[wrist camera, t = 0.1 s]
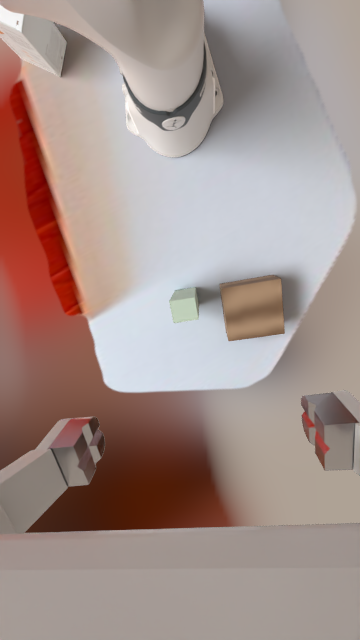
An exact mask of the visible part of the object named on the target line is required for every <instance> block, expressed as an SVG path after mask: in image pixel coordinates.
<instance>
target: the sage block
mask: <svg viewBox="0 0 360 640" xmlns="http://www.w3.org/2000/svg"><path fill="white" fill-rule="evenodd" d="M169 303H170V308H171V312H172V317H173V322H174V323H178V322H184V321H191V320H197V319H199V303H198V297H197V291H196V287H193V288H187V289H181V290H176V291H175V292H174V293H173V295H172V297H171V299H170V301H169Z"/></svg>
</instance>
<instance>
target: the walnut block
mask: <svg viewBox="0 0 360 640" xmlns="http://www.w3.org/2000/svg"><path fill="white" fill-rule="evenodd" d="M219 285H220V293H221V300H222V307H223V314H224V321H225V328H226V333H227V337H228V340H229V341H234V340H242V339H249V338H256V337H263V336H270V335H277V334H285V332H284V316H283V301H282V286H281V278H279V277H276V276H274V275H268V276H263V277H257V278H251V279H245V280H240V281H234V282H228V283H222V284H219Z"/></svg>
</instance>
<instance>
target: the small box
mask: <svg viewBox="0 0 360 640" xmlns="http://www.w3.org/2000/svg"><path fill="white" fill-rule="evenodd" d="M0 38H1V39H2V40H3V41H4V42H5V43H6V44H7V45H8V46H9V47H10V48H11V49H12V50H13V51H14V52H15V53H17V55H18V56H19V57H20V58H21V59H22V60H24V61H27V62H29V63H31V64H33V65H35V66H37V67H40V68H42V69H44V70H46V71H48V72H50V73H53V74H55V75H57V76H59V77H60V76H61V71H62V66H63V60H64V55H65V50H66V45H67V42H66V40H65V39H64V37H63V36H62V34H61V33H60V31H59V30H58V29H57V27H56V26H55V24H54V23H53V22H52V21H49V20H46V19H43V18H39V17H34V16H30V15H25V14H19V13H13V12H10V11H8V10H7V9H5V8H4V7H3V6H1V5H0Z"/></svg>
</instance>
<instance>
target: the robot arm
mask: <svg viewBox="0 0 360 640" xmlns="http://www.w3.org/2000/svg"><path fill="white" fill-rule="evenodd" d="M0 5H1V6H3V7H4V8H5V9H7V10H8V11H10V12H13V13H19V14H25V15H30V16H34V17H39V18H43V19H46V20H49V21H52V22H55V23H58V24H60V25H62V26H65V27H67V28H69V29H71V30H73V31H75V32H77V33H79V34H81V35H83V36H84V37H86V38H88V39H89V40H91V41H93V42H94V43H96V44H97V45H99V46H100V47H102V48H103V49H104V50H106V51H107V52H108V53H109V54H110V55H111V56H113V58H114V59H115V61H116V62H117V64H118V66H119V70H120V73H121V74H122V75H123V79H124V84H122V89H123V93H124V95H125V107H126V124H127V128H128V130H129V131H130V132H131V133H132V134H134V135H136V136H138V137H140V138H142V139H143V140H144V141H145V142H146V143H147V144H148V145H149V147H150V148H151V149H153V150H154V151H155V152H157V153H158V154H160V155H163V156H166V157H180V156H184V155H186V154H188V153H190V152H192V151H193V150H194V149H196V148H197V147H198V146H199V145H200V143H201V142H202V141H203V139H204V138H205V136H206V134H207V132H208V129H209V126H210V124H211V121H212V120H213V118H214V117H215V116H216V115H217V113H218V112H219V111H220V110H221V108H222V106H223V95H222V92H221V88H220V85H219V81H218V78H217V74H216V71H215V67H214V64H213V60H212V57H211V53H210V50H209V46H208V43H207V39H206V36H205V32H204V2H203V0H0ZM215 93H216V94H217V95H216V96H215ZM301 405H302V407H303V409H304V411H305V412H304V413H303V414H302V423H303V428H304V432H305V434H306V437H307V439H308V441H309V442H310V443H311V444H313V445H315V454H316V455H317V457H318V459H319V461H320V463H321V464H322V466H323V468H324V470H326V471H328V470H353V471H354V472H356V473H357V474H358V475H359V476H360V402H358V400H357V399H356V398H355V397H354V396H353V395H352V394H351V393H350V392H348V391H346V390H344V391H337V392H331V393H323V394H314V395H304V396H302V398H301ZM99 425H100V424H99V421H98V419H97V418H96V417H83V418H72V419H62V420H60V421H58V422H57V423H56V425H55V426H54V427H53V428H52V430H51V431H50V432H49V433H48V434H47V436H46V437H45V438H44V439H43V441H42V442H41V443H40V444H39V446H38V447H37V448H36V449H35V450H32V451H30V452H28V453H27V454H25V455H24V456H22V457H21V458H19V459H18V460H16V461H15V462H13V463H12V464H10V465H8V466H7V467H5V468H4V469H3V470H1V471H0V640H360V523H345V524H315V525H314V524H312V525H279V526H247V527H214V528H180V529H147V530H116V531H115V530H114V531H82V532H52V533H51V532H49V533H24V532H25V531H26V530H27V529H28V528H29V527H30V526H31V525H32V524H33V523H34V522H35V521H36V520H37V519H38V518H39V517H40V516H41V515H42V514H43V513H44V512H45V511H46V510H47V509H48V508H49V506H51V505H52V504H53V502H54V501H55V500H56V499H57V498H58V497H59V496H60V495H61V494H62V493H63V492H64V491H65V490H66V489H67V487H68V486H79V485H89V483H90V481H91V479H92V476H93V474H94V472H95V470H96V465H95V463H96V462H97V461H98V460H100V459H101V457H102V455H103V453H104V448H105V439H104V435H103V433H102V432H101V431H100V430H98V428H99Z"/></svg>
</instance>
